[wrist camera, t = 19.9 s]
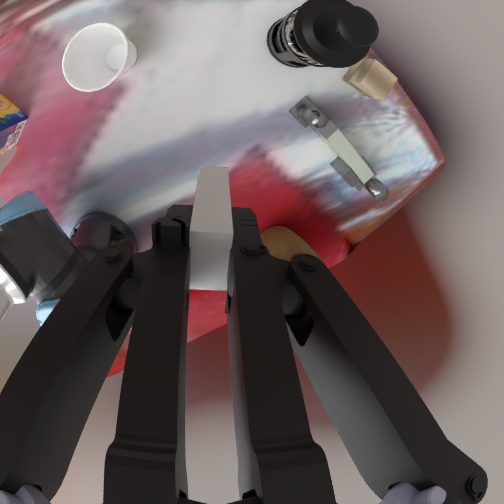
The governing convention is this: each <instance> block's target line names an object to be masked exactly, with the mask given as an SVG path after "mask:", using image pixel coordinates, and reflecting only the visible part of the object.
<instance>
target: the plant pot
mask: <svg viewBox="0 0 504 504" xmlns="http://www.w3.org/2000/svg"><path fill="white" fill-rule="evenodd" d="M260 236H261V240H262V243H263V244H264V245H265V246H267V248H268V250H269V253H270V255H272V256H274V257H277V258H279V259H283V260H287V261H290V259H291V257H292V256H294V255H295V254H299V253H306V254H310V255H313V256H315V257H317V258H319V259H320V257H319V256H318V255H317V254H316V252H315V251H314V250H313V249H312V248H311V247H310V246H309V245H308V244H307V243H306V242H305V241H304V240H303V239H302V238H301V237H299V236H298V235H297V234H296V233H294V232H293V231H291V230H290V229H288V228H286V227H284V226H272V227H270V228H268V229H266V230H265V231H264V232H263V233H262V234H261V235H260ZM320 260H321V259H320ZM321 261H322V260H321ZM322 262H323V261H322Z"/></svg>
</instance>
